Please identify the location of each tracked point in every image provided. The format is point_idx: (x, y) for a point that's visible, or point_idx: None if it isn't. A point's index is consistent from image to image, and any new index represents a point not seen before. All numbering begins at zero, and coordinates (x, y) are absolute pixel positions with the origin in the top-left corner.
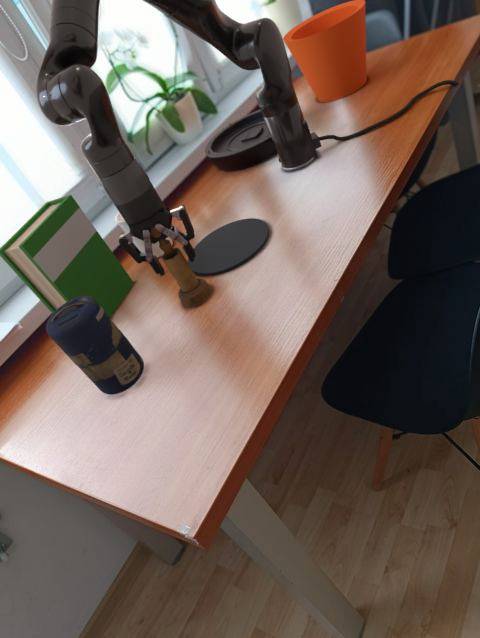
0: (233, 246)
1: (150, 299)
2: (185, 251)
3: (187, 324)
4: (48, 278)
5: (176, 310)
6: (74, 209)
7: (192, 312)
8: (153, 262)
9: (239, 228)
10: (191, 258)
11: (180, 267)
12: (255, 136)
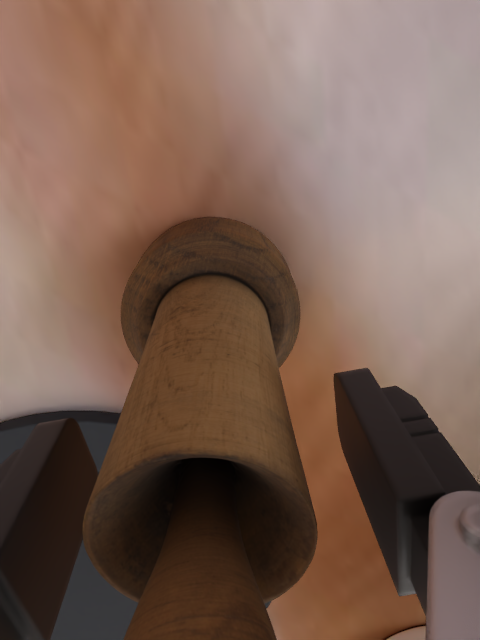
0: None
1: (472, 399)
2: (13, 508)
3: (246, 62)
4: None
5: (328, 242)
6: None
7: (225, 172)
8: (422, 481)
9: (62, 635)
10: (40, 438)
11: (158, 377)
12: None
